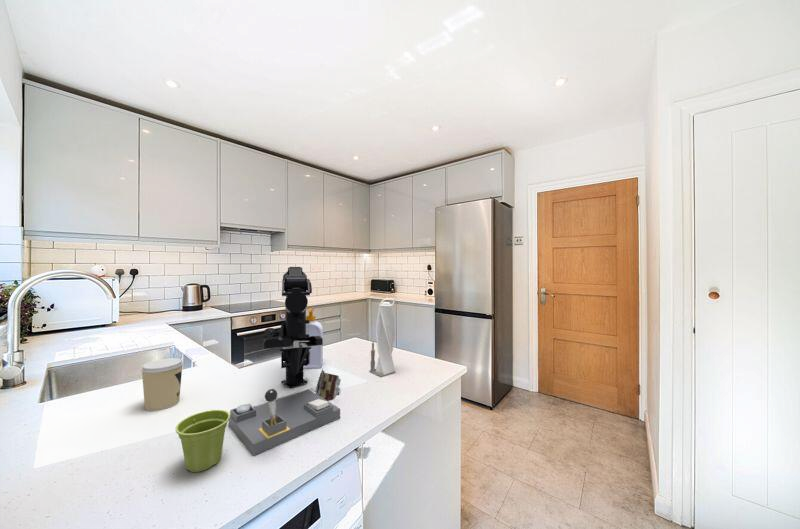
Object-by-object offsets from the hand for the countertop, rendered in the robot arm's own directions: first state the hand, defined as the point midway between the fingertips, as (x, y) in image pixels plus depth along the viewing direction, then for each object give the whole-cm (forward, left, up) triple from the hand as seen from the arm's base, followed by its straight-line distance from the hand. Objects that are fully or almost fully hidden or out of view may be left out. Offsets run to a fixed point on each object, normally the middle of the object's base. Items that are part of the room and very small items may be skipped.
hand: (295, 374), depth 83 cm
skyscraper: (-4, +38, -11) cm, 39 cm away
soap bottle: (-29, +21, -11) cm, 37 cm away
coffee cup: (-30, -25, -11) cm, 41 cm away
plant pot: (+7, -23, -11) cm, 26 cm away
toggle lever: (+9, -10, -7) cm, 15 cm away
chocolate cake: (-3, +13, -11) cm, 17 cm away
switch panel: (+3, -4, -10) cm, 12 cm away
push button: (-2, -13, -8) cm, 15 cm away
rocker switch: (+8, +2, -6) cm, 11 cm away
